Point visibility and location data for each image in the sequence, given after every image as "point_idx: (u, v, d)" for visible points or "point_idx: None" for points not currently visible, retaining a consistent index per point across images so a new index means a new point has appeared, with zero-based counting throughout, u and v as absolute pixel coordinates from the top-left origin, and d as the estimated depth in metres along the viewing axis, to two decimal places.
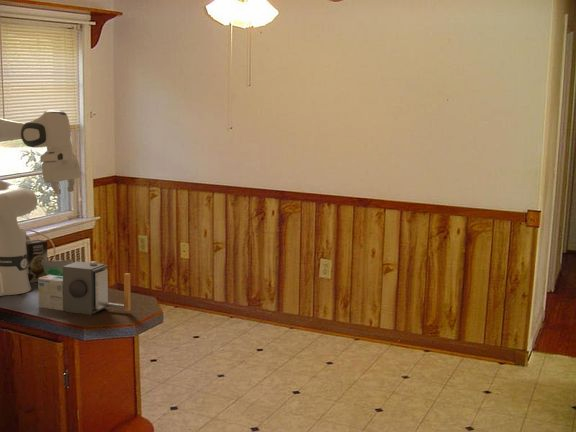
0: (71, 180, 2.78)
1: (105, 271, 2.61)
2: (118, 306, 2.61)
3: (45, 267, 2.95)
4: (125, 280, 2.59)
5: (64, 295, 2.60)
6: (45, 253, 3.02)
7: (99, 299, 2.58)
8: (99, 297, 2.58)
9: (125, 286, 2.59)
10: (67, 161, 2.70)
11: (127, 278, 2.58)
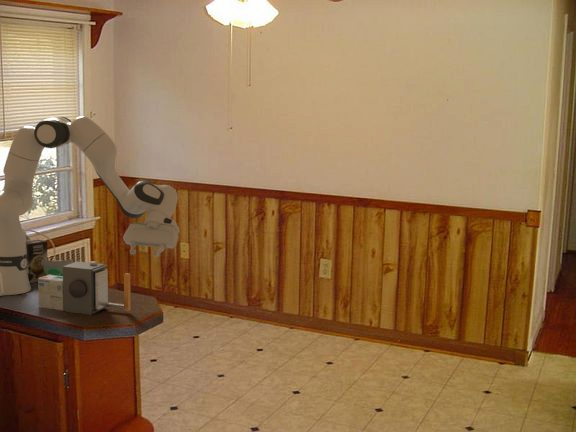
0: (135, 245, 2.74)
1: (105, 271, 2.61)
2: (118, 306, 2.61)
3: (45, 267, 2.95)
4: (125, 280, 2.59)
5: (64, 295, 2.60)
6: (45, 253, 3.02)
7: (99, 299, 2.58)
8: (99, 297, 2.58)
9: (125, 286, 2.59)
10: None
11: (127, 278, 2.58)
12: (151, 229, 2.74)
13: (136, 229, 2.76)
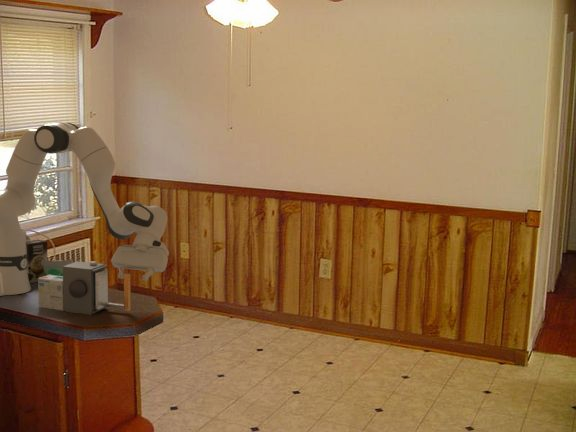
0: (123, 268, 2.67)
1: (105, 271, 2.61)
2: (118, 306, 2.61)
3: (45, 267, 2.95)
4: (125, 280, 2.59)
5: (64, 295, 2.60)
6: (45, 253, 3.02)
7: (99, 299, 2.58)
8: (99, 297, 2.58)
9: (125, 286, 2.59)
10: None
11: (127, 278, 2.58)
12: (140, 252, 2.67)
13: (124, 252, 2.69)
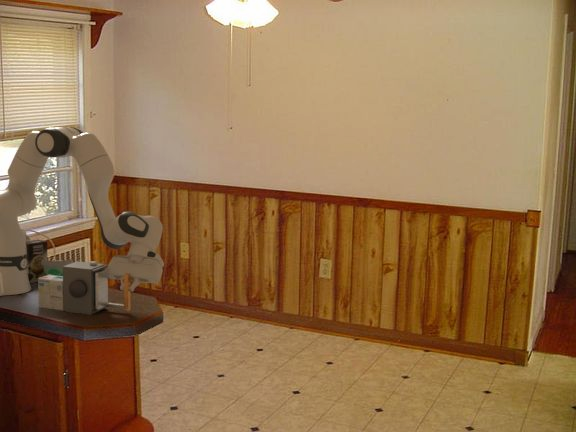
0: None
1: (105, 271, 2.61)
2: (118, 306, 2.61)
3: (45, 267, 2.95)
4: (125, 280, 2.59)
5: (64, 295, 2.60)
6: (45, 253, 3.02)
7: (99, 299, 2.59)
8: (99, 297, 2.58)
9: (125, 286, 2.59)
10: None
11: (127, 278, 2.58)
12: (134, 263, 2.64)
13: (119, 262, 2.65)
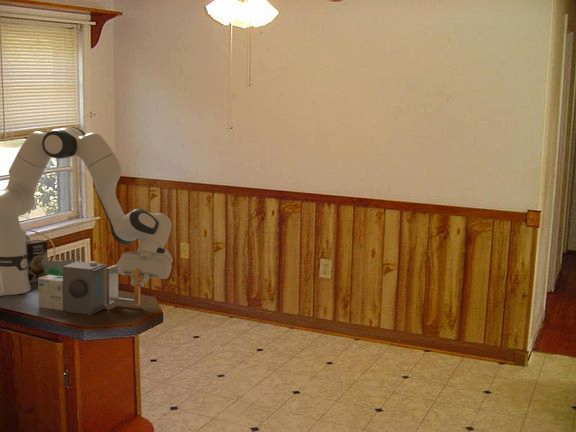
0: None
1: (116, 267, 2.68)
2: (128, 301, 2.68)
3: (45, 267, 2.95)
4: (135, 275, 2.66)
5: (64, 295, 2.60)
6: (45, 253, 3.02)
7: (110, 294, 2.65)
8: (110, 292, 2.65)
9: (135, 281, 2.66)
10: None
11: (137, 274, 2.65)
12: (144, 259, 2.71)
13: (129, 259, 2.72)
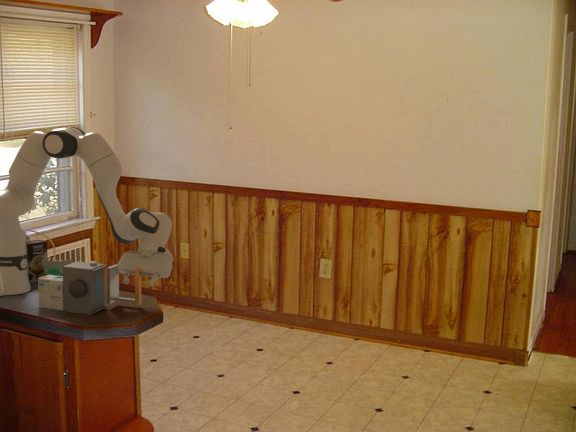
0: (128, 274, 2.71)
1: (116, 266, 2.68)
2: (129, 300, 2.68)
3: (45, 267, 2.95)
4: (136, 275, 2.66)
5: (64, 295, 2.60)
6: (45, 253, 3.02)
7: (111, 293, 2.66)
8: (111, 292, 2.66)
9: (136, 281, 2.67)
10: None
11: (138, 273, 2.66)
12: (145, 258, 2.71)
13: (130, 258, 2.73)
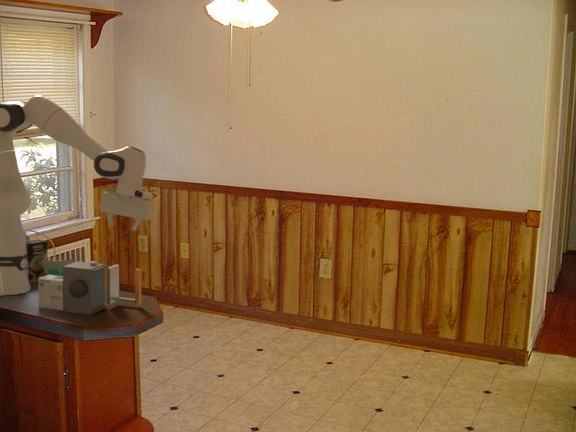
0: (112, 215, 2.77)
1: (116, 266, 2.68)
2: (129, 300, 2.68)
3: (45, 267, 2.95)
4: (136, 275, 2.66)
5: (64, 295, 2.60)
6: (45, 253, 3.02)
7: (111, 293, 2.66)
8: (111, 292, 2.66)
9: (136, 281, 2.67)
10: None
11: (138, 273, 2.66)
12: (124, 200, 2.73)
13: (110, 199, 2.75)
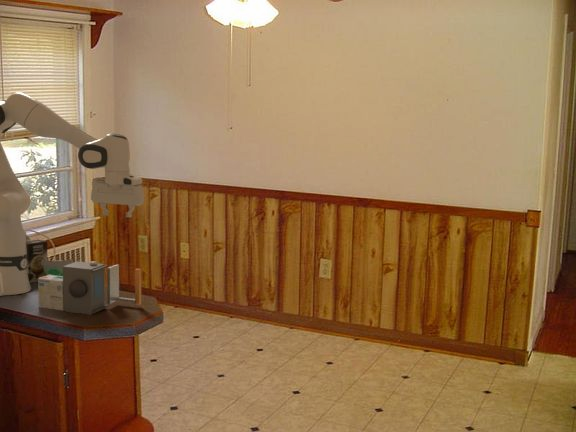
0: (105, 204, 2.76)
1: (116, 266, 2.68)
2: (129, 300, 2.68)
3: (45, 267, 2.95)
4: (136, 275, 2.66)
5: (64, 295, 2.60)
6: (45, 253, 3.02)
7: (111, 293, 2.66)
8: (111, 292, 2.66)
9: (136, 281, 2.67)
10: None
11: (138, 273, 2.66)
12: (114, 189, 2.72)
13: (100, 189, 2.74)
